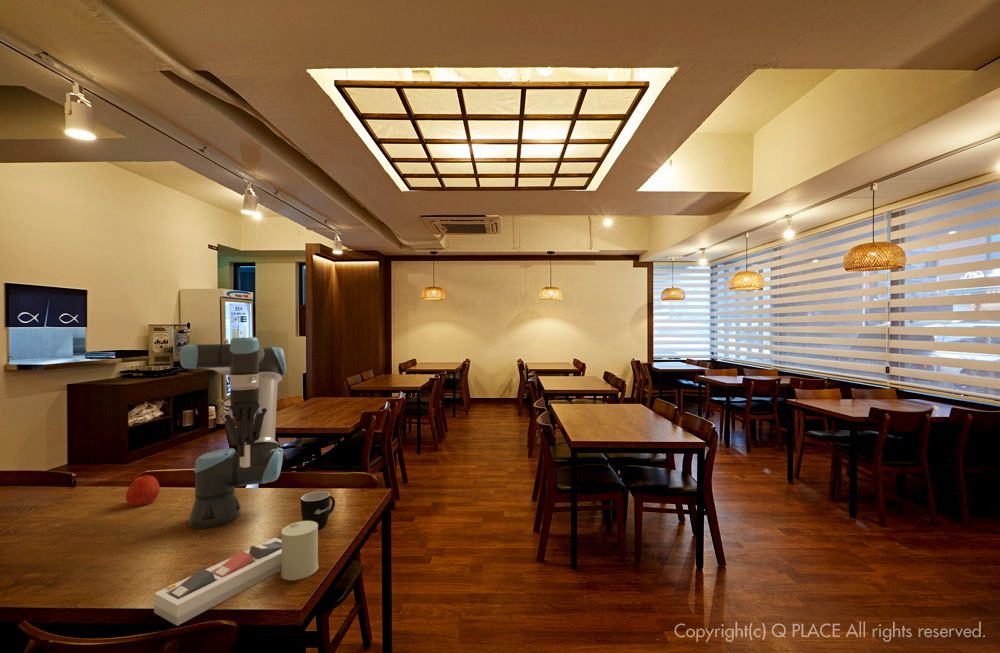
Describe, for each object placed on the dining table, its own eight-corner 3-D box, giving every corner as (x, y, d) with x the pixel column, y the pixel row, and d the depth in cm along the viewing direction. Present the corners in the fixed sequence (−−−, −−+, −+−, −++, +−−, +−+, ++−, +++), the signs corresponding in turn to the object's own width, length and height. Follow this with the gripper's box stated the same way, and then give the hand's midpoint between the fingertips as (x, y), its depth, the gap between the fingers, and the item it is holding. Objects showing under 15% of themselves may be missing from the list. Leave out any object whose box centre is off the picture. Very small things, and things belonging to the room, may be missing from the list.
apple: (164, 501, 167) (164, 474, 167) (131, 510, 158) (131, 482, 158) (154, 496, 172) (154, 470, 172) (121, 504, 164) (121, 477, 164)
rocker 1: (181, 605, 97) (178, 598, 97) (171, 599, 100) (168, 593, 99) (215, 578, 104) (212, 572, 103) (204, 574, 106) (201, 567, 106)
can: (306, 558, 122) (306, 516, 122) (325, 568, 117) (325, 523, 117) (274, 573, 115) (273, 528, 115) (292, 584, 109) (292, 537, 110)
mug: (312, 534, 137) (312, 502, 137) (295, 528, 141) (294, 497, 141) (343, 520, 147) (343, 490, 147) (325, 515, 152) (325, 486, 152)
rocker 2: (259, 557, 114) (261, 549, 114) (248, 553, 116) (251, 545, 117) (284, 553, 120) (286, 545, 121) (273, 549, 122) (275, 542, 123)
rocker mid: (225, 583, 106) (222, 577, 105) (214, 579, 108) (211, 572, 108) (253, 560, 112) (250, 554, 112) (242, 556, 114) (240, 550, 114)
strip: (177, 625, 94) (177, 603, 94) (154, 612, 99) (154, 591, 99) (321, 548, 128) (321, 531, 128) (298, 541, 133) (298, 525, 133)
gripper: (230, 391, 122) (230, 474, 122) (272, 386, 134) (273, 462, 133) (214, 390, 126) (215, 471, 125) (257, 385, 137) (258, 459, 137)
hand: (244, 466), depth 129 cm, fingers closed
